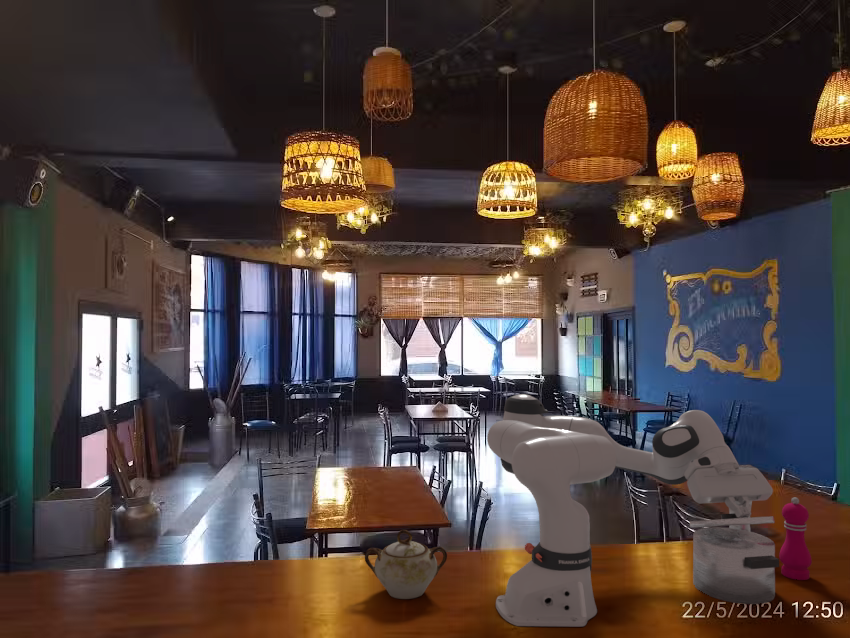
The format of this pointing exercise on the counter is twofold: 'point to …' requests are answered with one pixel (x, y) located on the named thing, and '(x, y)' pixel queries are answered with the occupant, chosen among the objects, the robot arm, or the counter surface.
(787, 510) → the pepper mill
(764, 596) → the cooker pot
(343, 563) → the counter surface
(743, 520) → the cooker lid
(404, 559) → the sugar bowl
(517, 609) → the robot arm
